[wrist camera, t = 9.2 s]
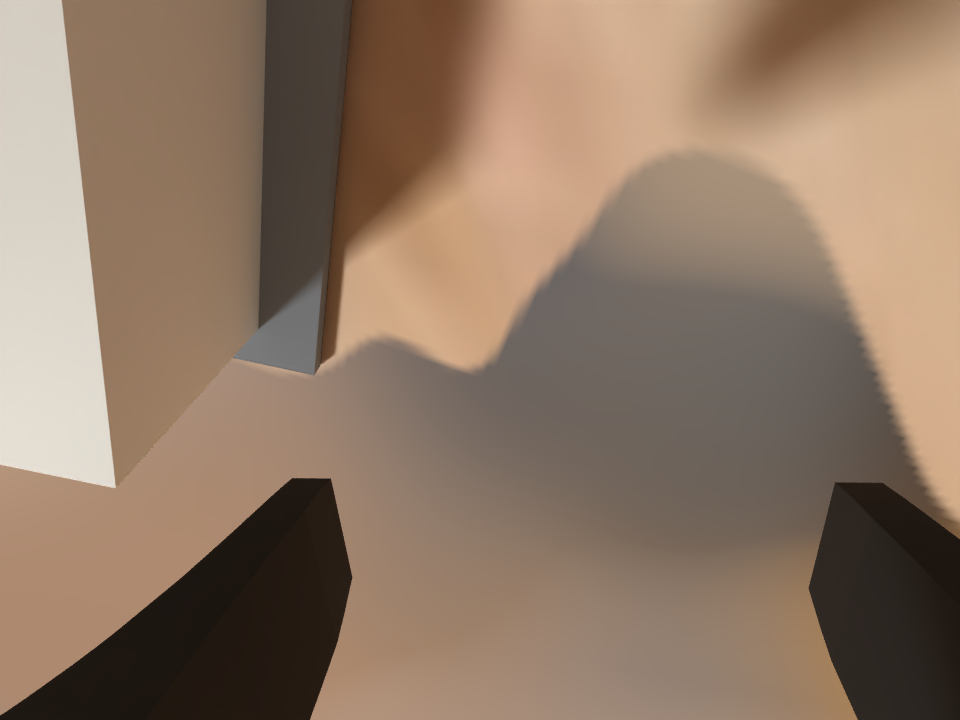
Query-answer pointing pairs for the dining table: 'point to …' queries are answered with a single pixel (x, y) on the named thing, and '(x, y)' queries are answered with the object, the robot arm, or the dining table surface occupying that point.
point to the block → (123, 220)
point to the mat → (299, 177)
